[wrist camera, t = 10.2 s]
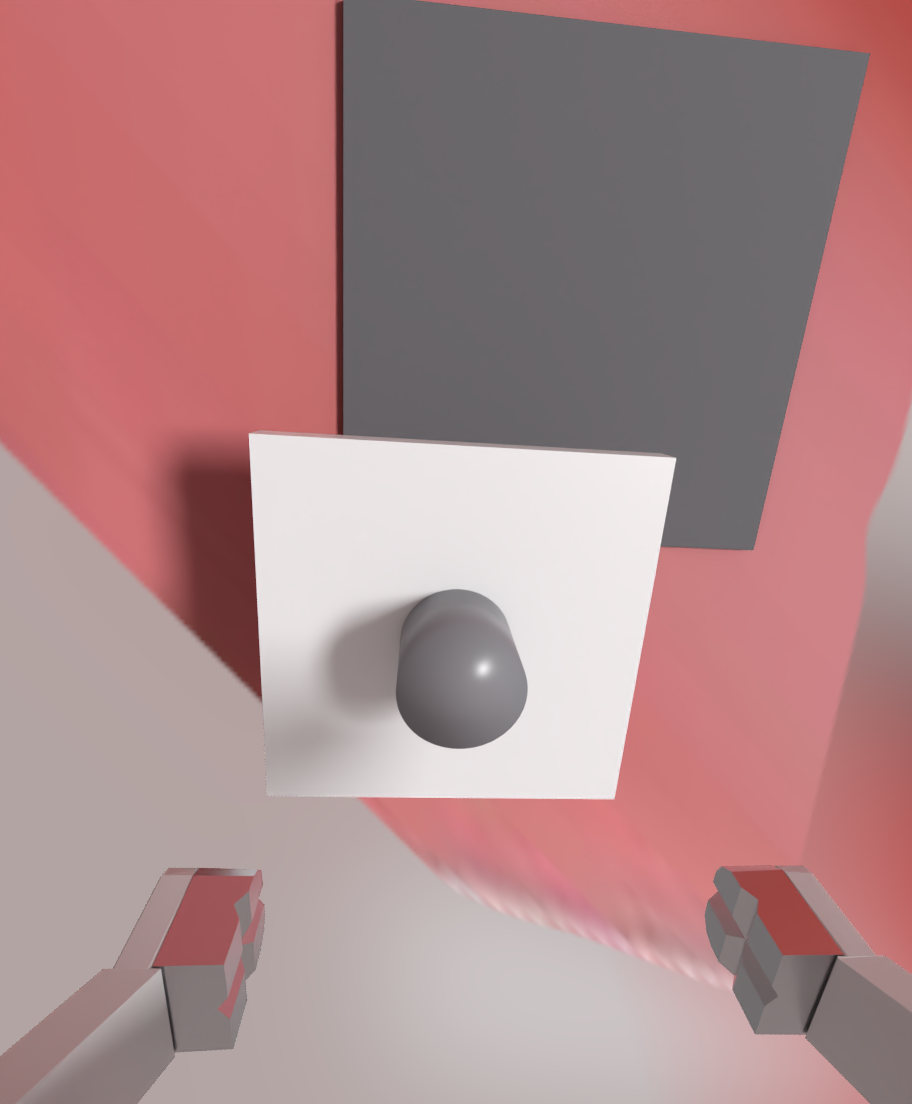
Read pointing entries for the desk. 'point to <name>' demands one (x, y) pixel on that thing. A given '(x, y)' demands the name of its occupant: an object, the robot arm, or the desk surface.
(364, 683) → the cover
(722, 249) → the mat
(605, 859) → the desk surface
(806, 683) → the desk surface
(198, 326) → the desk surface
